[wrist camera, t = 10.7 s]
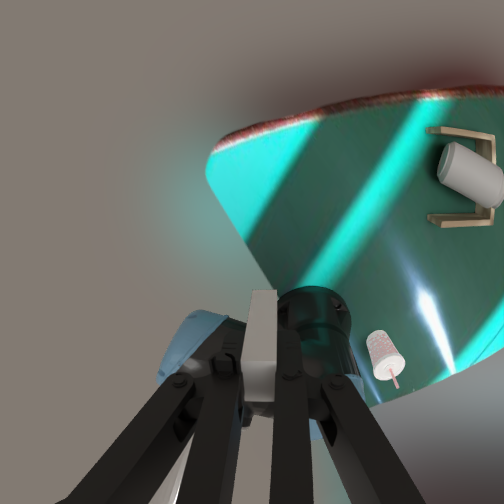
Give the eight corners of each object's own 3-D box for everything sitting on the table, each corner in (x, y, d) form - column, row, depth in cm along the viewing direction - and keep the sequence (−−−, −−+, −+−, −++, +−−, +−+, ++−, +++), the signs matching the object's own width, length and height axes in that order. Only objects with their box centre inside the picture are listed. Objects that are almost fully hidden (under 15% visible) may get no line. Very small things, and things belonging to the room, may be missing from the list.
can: (432, 183, 40) (486, 214, 35) (442, 176, 33) (503, 212, 29) (442, 145, 38) (496, 176, 34) (453, 132, 31) (513, 168, 27)
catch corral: (478, 217, 41) (493, 224, 36) (427, 219, 42) (441, 227, 37) (478, 134, 35) (494, 135, 31) (425, 127, 37) (440, 126, 32)
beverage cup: (356, 341, 51) (374, 391, 38) (380, 321, 50) (404, 369, 36) (373, 355, 52) (391, 403, 39) (395, 336, 51) (419, 383, 37)
